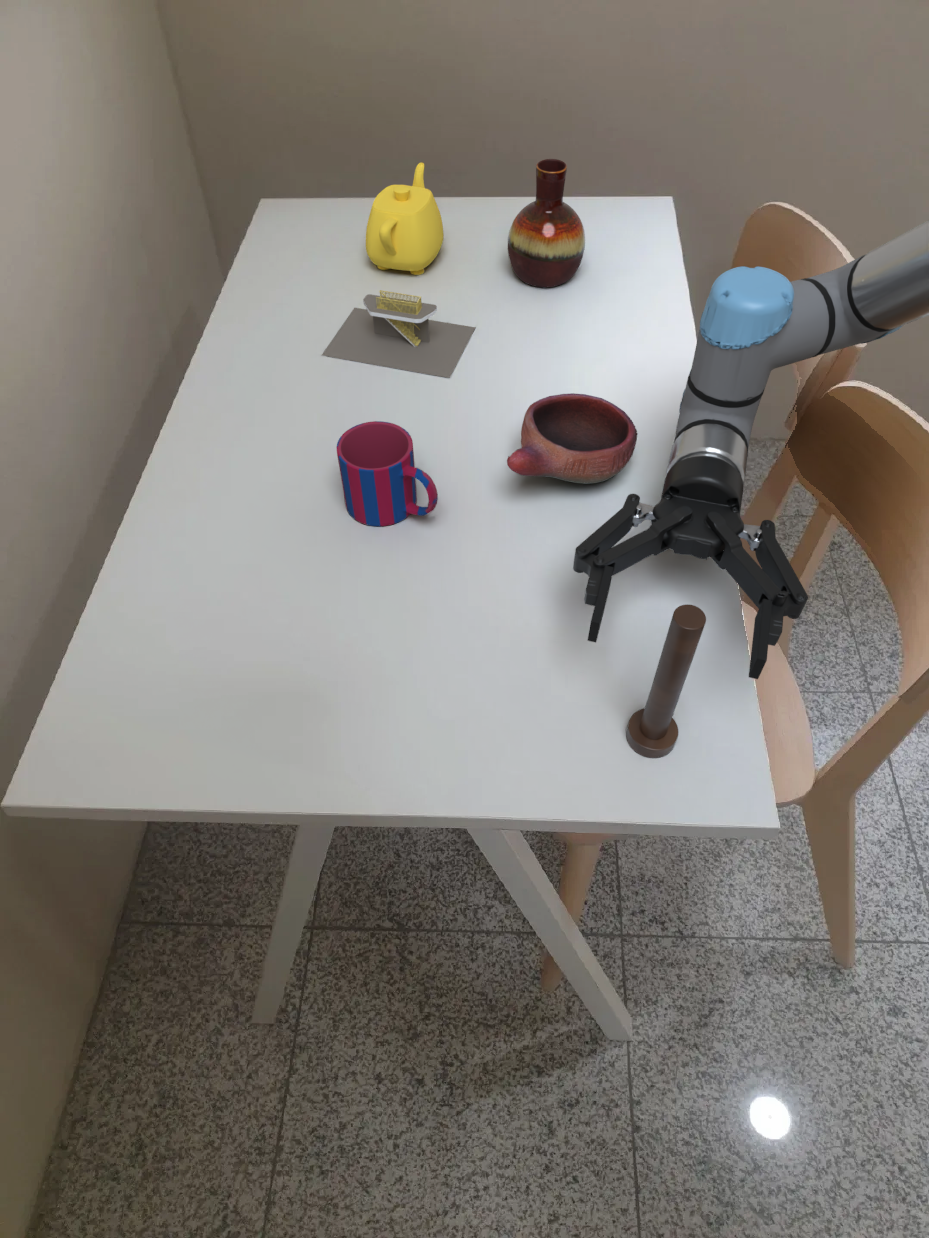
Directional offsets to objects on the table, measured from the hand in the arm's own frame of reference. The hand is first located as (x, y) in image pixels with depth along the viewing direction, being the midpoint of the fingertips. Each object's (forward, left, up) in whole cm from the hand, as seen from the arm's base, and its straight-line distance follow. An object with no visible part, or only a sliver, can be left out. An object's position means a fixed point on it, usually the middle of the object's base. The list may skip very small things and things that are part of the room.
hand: (673, 650), depth 70 cm
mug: (+32, -18, -10) cm, 38 cm away
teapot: (+48, -70, -10) cm, 86 cm away
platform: (+42, -49, -10) cm, 65 cm away
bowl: (+14, -29, -10) cm, 34 cm away
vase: (+27, -71, -10) cm, 77 cm away
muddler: (0, +3, -10) cm, 10 cm away
